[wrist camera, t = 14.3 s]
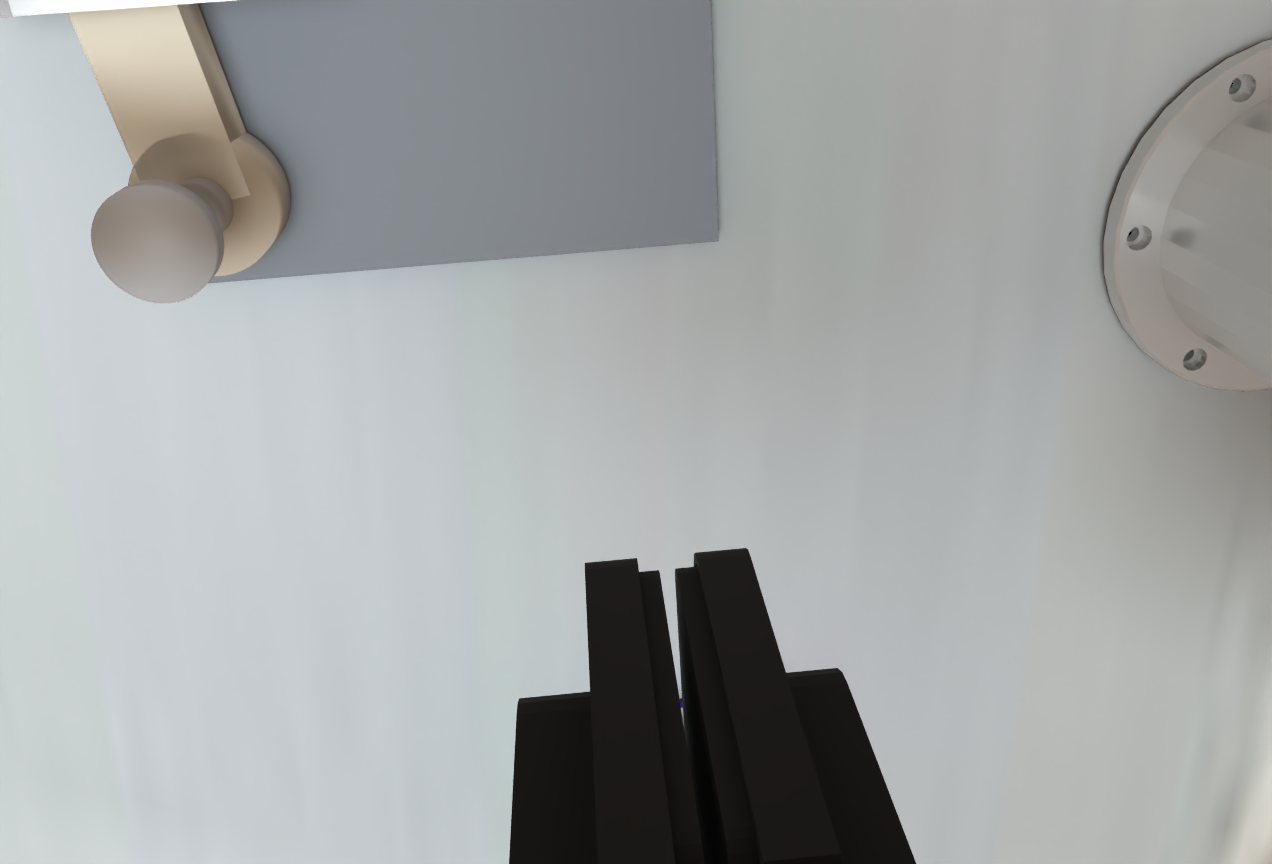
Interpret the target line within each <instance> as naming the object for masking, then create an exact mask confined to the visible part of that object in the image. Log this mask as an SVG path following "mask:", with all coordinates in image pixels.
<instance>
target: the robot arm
mask: <svg viewBox="0 0 1272 864" xmlns="http://www.w3.org/2000/svg"><path fill="white" fill-rule="evenodd" d="M1232 82H1233V85H1232V88H1231V89H1230V90H1229V88H1230V86H1231V84H1232ZM1132 229H1133V231H1132V234H1131V235H1130V236H1129V237H1128V234H1129V232H1130V231H1131V230H1132ZM1104 275H1105V280H1106V284H1107V288H1108V293H1109V297H1110V301H1111V304H1112V306H1113V308H1114V310H1115V312H1116V314H1117V316H1118V318H1119V321H1120V323H1121V325H1122V327H1123V328H1124V330H1125V331H1126V332H1127V333H1128V335H1129V336H1130V337H1131V338H1132V339H1133V341H1134V342H1135V343H1136V344H1137V345H1138V347H1139V348H1140V349H1141V350H1142V351H1144V352H1145V353H1146V354H1148V355H1149V356H1150V357H1151V358H1153V359H1154V360H1155V361H1156V362H1158V363H1159V364H1160V365H1161V366H1163V367H1164V368H1166V369H1168V370H1169V371H1171V372H1173V373H1174V374H1176V375H1177V376H1179V377H1181V378H1183V379H1185V380H1188V381H1191V382H1194V383H1198V384H1201V385H1204V386H1207V387H1211V388H1215V389H1225V390H1236V391H1252V390H1263V389H1272V39H1271V40H1267V41H1263V42H1261V43H1259V44H1257V45H1255V46H1253V47H1250V48H1248V49H1246V50H1244V51H1242V52H1240V53H1238V54H1236V55H1234V56H1231V57H1229V58H1227V59H1226V60H1224V61H1223V62H1222V63H1220V64H1219V65H1217V66H1216V67H1214V68H1213V69H1211V70H1210V71H1208V72H1207V73H1206V74H1204V75H1203V76H1201V77H1200V78H1198V79H1197V80H1195V81H1194V82H1193V83H1192V84H1191V85H1190V86H1189V87H1188V88H1187V89H1186V90H1184V91H1183V92H1182V93H1181V94H1180V95H1179V96H1178V97H1177V98H1176V99H1175V100H1174V101H1173V102H1172V103H1171V104H1170V105H1169V106H1168V107H1166V108H1165V110H1164V111H1163V112H1162V113H1161V115H1160V116H1159V117H1158V118H1157V120H1156V121H1155V122H1154V124H1153V125H1152V126H1151V127H1150V129H1149V130H1148V131H1147V133H1146V134H1145V135H1144V136H1143V138H1142V139H1141V140H1140V142H1139V144H1138V146H1137V147H1136V149H1135V151H1134V153H1133V155H1132V156H1131V158H1130V160H1129V162H1128V164H1127V165H1126V167H1125V169H1124V171H1123V172H1122V175H1121V177H1120V180H1119V183H1118V186H1117V188H1116V191H1115V194H1114V197H1113V199H1112V202H1111V205H1110V208H1109V213H1108V219H1107V225H1106V230H1105V236H1104ZM585 581H586V604H587V628H588V651H589V674H590V692H582V693H572V694H561V695H551V696H541V697H530V698H520V699H519V701H518V707H517V720H516V740H515V760H514V779H513V799H512V819H511V839H510V858H509V864H916V862H915V860H914V857H913V854H912V852H911V849H910V846H909V844H908V841H907V839H906V836H905V833H904V831H903V828H902V825H901V823H900V820H899V818H898V815H897V812H896V810H895V807H894V804H893V802H892V799H891V797H890V794H889V791H888V789H887V786H886V783H885V781H884V778H883V776H882V773H881V770H880V768H879V765H878V762H877V760H876V757H875V755H874V752H873V749H872V747H871V744H870V741H869V739H868V736H867V734H866V731H865V728H864V726H863V723H862V720H861V718H860V715H859V713H858V710H857V707H856V705H855V702H854V699H853V697H852V694H851V692H850V689H849V686H848V684H847V681H846V679H845V677H844V675H843V673H842V672H841V671H840V670H839V669H838V668H833V669H823V670H812V671H802V672H791V673H786V672H785V668H784V665H783V662H782V659H781V655H780V652H779V649H778V645H777V642H776V639H775V636H774V632H773V629H772V626H771V622H770V619H769V616H768V613H767V609H766V606H765V603H764V599H763V596H762V593H761V590H760V586H759V583H758V580H757V577H756V573H755V570H754V567H753V563H752V560H751V557H750V554H749V551H748V549H746V548H743V549H732V550H721V551H710V552H699V553H695V554H694V567H689V568H678V569H675V582H676V599H677V616H678V633H679V650H680V667H681V685H682V702H683V719H684V725H683V719H682V712H681V706H680V700H679V693H678V687H677V681H676V674H675V668H674V662H673V655H672V649H671V643H670V636H669V630H668V624H667V617H666V611H665V605H664V598H663V592H662V585H661V579H660V573H659V570H657V571H646V572H639V570H638V562H637V558H634V559H623V560H612V561H601V562H590V563H585Z"/></svg>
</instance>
